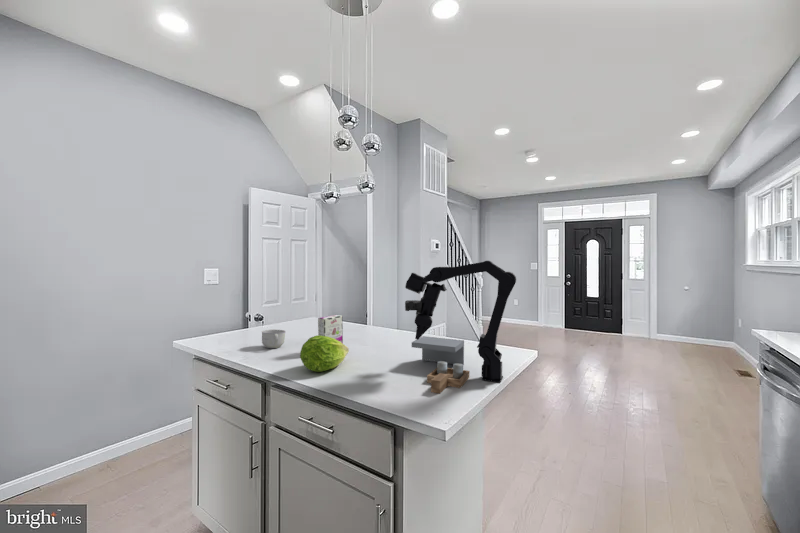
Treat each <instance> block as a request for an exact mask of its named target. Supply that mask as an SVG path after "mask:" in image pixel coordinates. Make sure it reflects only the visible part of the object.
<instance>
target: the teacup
mask: <svg viewBox="0 0 800 533" xmlns="http://www.w3.org/2000/svg"><path fill="white" fill-rule="evenodd" d="M285 339H286V330H283V329H264V330H262V331H261V343H262V345H263V347H265V348H266V349H278V348H281V347H282V346H283V345H284V344H285Z"/></svg>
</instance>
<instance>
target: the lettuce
mask: <svg viewBox="0 0 800 533" xmlns="http://www.w3.org/2000/svg"><path fill="white" fill-rule="evenodd" d="M349 349H350V348H349V347H348V346H347V345H345V344H344V343H343V344H342V343H341V342H340V341H338V340H336V339H334V338H331V337H327V336H321V335H314V336H312V337H309V338H308V339H307V340H306V341H305V342H304V343H303V344H302V346H301V349H300V354H299V358H300V360H301V362H302V364H303V365H304V368H306V369H307V370H309V371H311V372H316V373H321V372H326V371H329V370H332V369H335V368H336V367H337V366H339V365H340V364H341V363H342V362H343V361H344V360H345V358H346V356H347V355H348V354H349V353H350V352H349V351H350V350H349Z"/></svg>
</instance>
